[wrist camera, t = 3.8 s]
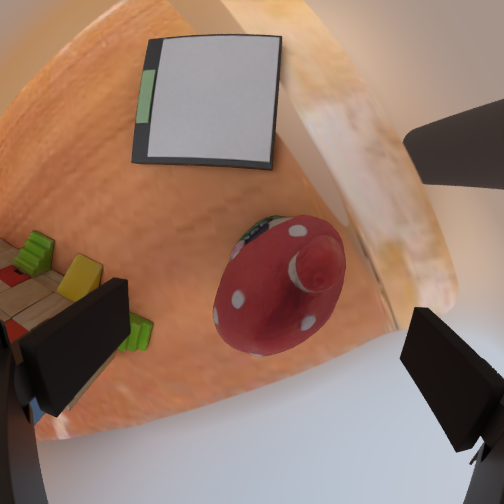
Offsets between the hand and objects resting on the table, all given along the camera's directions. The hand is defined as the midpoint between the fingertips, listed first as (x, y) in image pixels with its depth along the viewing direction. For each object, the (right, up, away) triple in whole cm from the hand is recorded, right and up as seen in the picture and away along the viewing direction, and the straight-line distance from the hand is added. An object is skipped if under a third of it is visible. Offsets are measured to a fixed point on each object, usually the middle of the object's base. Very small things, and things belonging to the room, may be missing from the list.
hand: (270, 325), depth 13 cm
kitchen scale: (-5, +17, +12) cm, 21 cm away
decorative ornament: (+1, +3, +15) cm, 15 cm away
